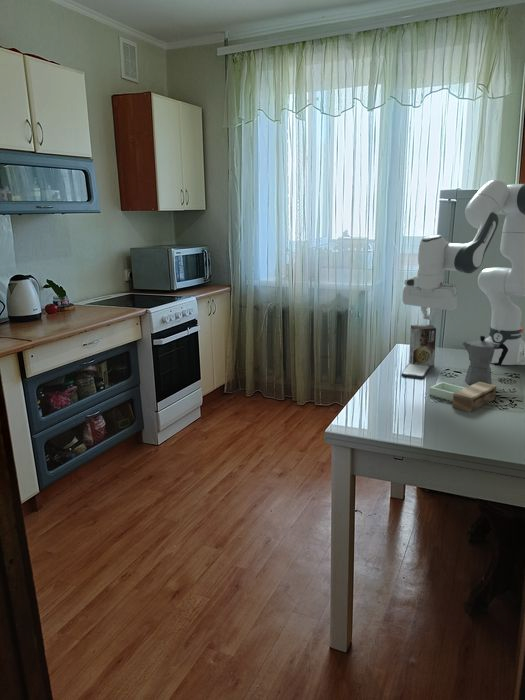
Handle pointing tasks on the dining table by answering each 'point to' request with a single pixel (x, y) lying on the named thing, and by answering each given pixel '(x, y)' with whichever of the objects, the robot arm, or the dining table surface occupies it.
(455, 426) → the dining table surface
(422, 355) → the coffee box
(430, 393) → the tray
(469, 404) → the walnut shelf
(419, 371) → the smartphone
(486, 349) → the coffeepot
